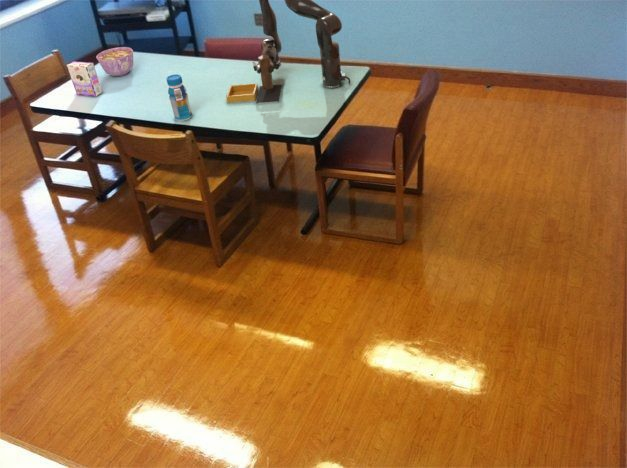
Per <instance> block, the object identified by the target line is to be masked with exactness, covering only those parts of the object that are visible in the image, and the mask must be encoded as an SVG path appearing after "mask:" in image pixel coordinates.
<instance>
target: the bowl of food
mask: <svg viewBox="0 0 627 468" xmlns="http://www.w3.org/2000/svg"><path fill="white" fill-rule="evenodd" d="M95 56H96V60H97V61H98V63H99V65H100V67H101V69H102V70H103V71H104V73H106V74H107V75H109V76H114V77H122V76H125V75H127V74H128V73H129V72H130V71H131V70H132V69H133V67H134V50H133V49H132V48H131V47H128V46H120V47H113V48H112V47H111V48H108V49H105V50H103V51H101V52H99V53H98V54H96V55H95Z"/></svg>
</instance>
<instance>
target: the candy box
mask: <svg viewBox="0 0 627 468" xmlns="http://www.w3.org/2000/svg"><path fill="white" fill-rule="evenodd" d="M66 69H67V71H68V74H69V77H70V79H71V81H72V85H73V87H74V90H75V93H76V95H78V96H85V97H95V98H96V97H98V96H100V95H101V94H103V93H104V91H103V89H102V86H101V83H100V80H99V77H98V74H97V70H96V67H95V64H94V62H86V61H85V62H84V61H71V62H70V63H67V64H66Z"/></svg>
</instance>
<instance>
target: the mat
mask: <svg viewBox="0 0 627 468" xmlns="http://www.w3.org/2000/svg"><path fill="white" fill-rule="evenodd" d="M282 86H283V84H273V88H271V89H263V86H262V85H261V86H260V87H259V88H258V92H257V96H256V100H255V103H256V104H262V103H275V102H279V101H280V97H281V91H282Z"/></svg>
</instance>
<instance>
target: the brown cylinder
mask: <svg viewBox="0 0 627 468" xmlns="http://www.w3.org/2000/svg"><path fill="white" fill-rule="evenodd" d="M257 59H258V62H259V67H260V79H261V86H263V89H271V88H273V85H274V80H273V73H270V59H269V56H268V55H262V56H261V55H259V56H258V57H257Z"/></svg>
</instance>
